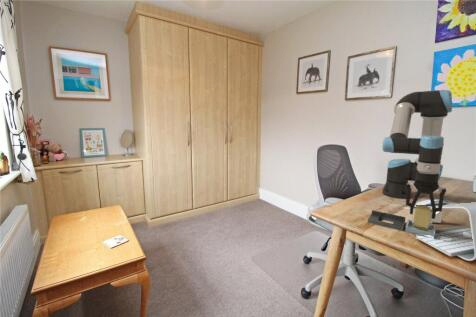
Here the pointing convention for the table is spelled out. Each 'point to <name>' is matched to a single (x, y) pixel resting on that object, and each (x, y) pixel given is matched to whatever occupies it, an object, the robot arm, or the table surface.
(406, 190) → the robot arm
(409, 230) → the tray
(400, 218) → the dark grey shallow tray
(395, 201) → the table surface
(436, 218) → the bracket
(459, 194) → the table surface
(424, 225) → the mustard yellow block
